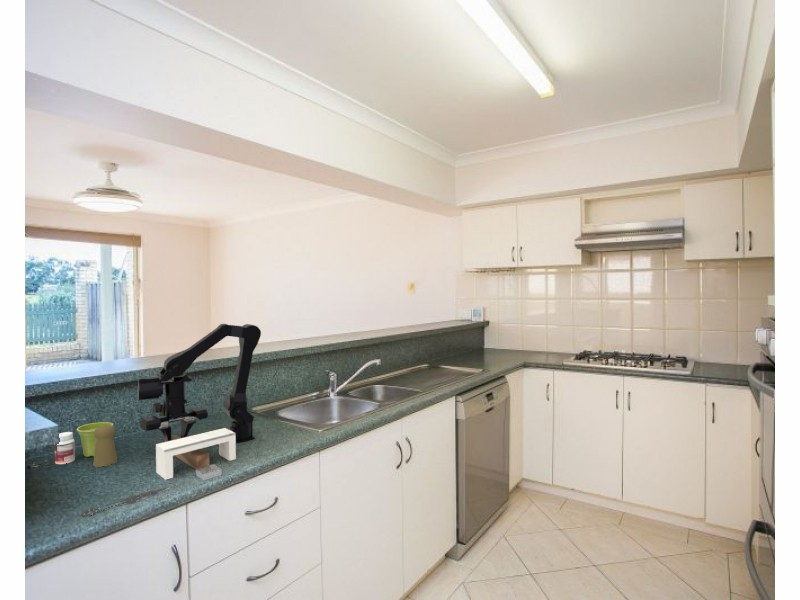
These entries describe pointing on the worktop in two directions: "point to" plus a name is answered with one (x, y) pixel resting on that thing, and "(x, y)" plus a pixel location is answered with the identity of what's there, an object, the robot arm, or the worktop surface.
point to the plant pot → (89, 437)
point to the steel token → (208, 472)
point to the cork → (104, 446)
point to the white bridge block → (194, 448)
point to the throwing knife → (128, 500)
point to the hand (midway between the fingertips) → (175, 445)
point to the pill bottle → (65, 448)
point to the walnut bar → (193, 456)
